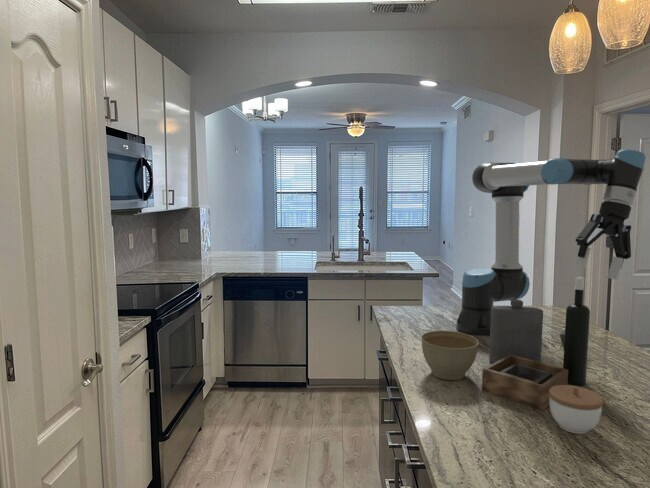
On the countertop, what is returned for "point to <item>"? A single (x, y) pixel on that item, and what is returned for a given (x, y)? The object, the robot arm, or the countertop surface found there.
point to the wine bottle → (576, 337)
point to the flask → (515, 332)
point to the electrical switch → (562, 338)
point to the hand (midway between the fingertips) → (596, 274)
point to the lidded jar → (575, 408)
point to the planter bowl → (449, 353)
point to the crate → (523, 380)
